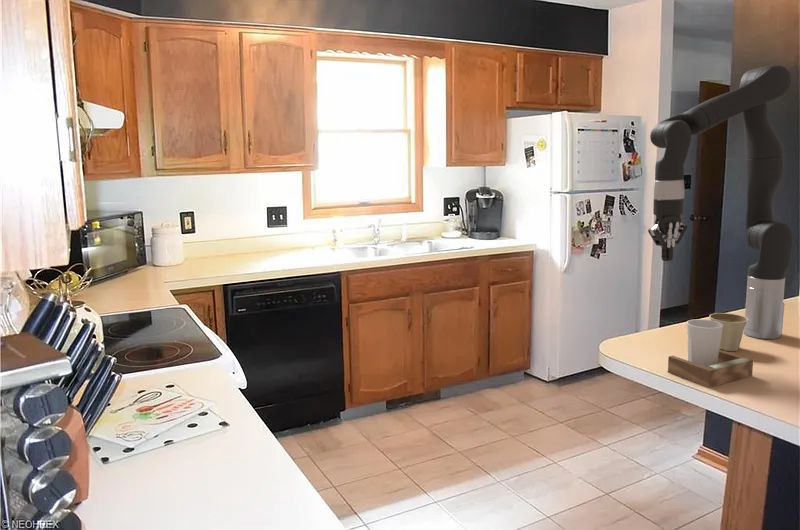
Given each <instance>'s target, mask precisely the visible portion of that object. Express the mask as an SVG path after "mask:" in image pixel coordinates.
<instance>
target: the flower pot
mask: <svg viewBox="0 0 800 530" xmlns="http://www.w3.org/2000/svg"><path fill="white" fill-rule="evenodd" d="M708 318H709V320H712V321H716V322H719V323H721V324H723V329H722V335H721V341H720V347H719V350H723V351H726V352H735V351H738V350H739V349H740V346H741V342H742V337H743V334H744V327H745V326H746V322H748V318H746V317H745V315H744V316H743V315H740V314H736V313H730V312H729V313H727V312H726V313H725V312H716V313H711V314H709V317H708Z"/></svg>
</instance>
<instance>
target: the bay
mask: <svg viewBox="0 0 800 530" xmlns="http://www.w3.org/2000/svg"><path fill="white" fill-rule="evenodd" d="M667 360H668V361H667V373H669V374H672V375H675V376H678V377H680V378H682V379H685V380H688V381H690V382H692V383H696V384H699V385H701V386H703V387H706V388H711V387H715V386H719V385H722V384H723V385H724V384H727V383H731V382H734V381H737V380H742V379H746V378H749V377H752V376H753V367H754V359H752V358H748V357H745V356H742V355H739V354H735V353H732V352H730V351H725V350H723V349H719V354H718V360H717V364H715V365H711V366H709V368H708V367H705V366H702V365H699V364H696V363H693V362H690V361H688V359H684V358H681V357H678V356H676V355H670V356H668V359H667Z"/></svg>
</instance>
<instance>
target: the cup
mask: <svg viewBox="0 0 800 530" xmlns="http://www.w3.org/2000/svg"><path fill="white" fill-rule="evenodd" d="M722 329H723V324H721V323H719V322H716V321H712V320H711V319H701V318H700V319H698V318H696V319H689V320H687V321H686V335H687V338H686V339H687V361H690V362H693V363H696V364H699V365H702V366H705V367H708V368H709V366H711V365H715V364H717V360H718V354H719V350H720V349H719V347H720V341H721V335H722Z"/></svg>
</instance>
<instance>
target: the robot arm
mask: <svg viewBox="0 0 800 530" xmlns="http://www.w3.org/2000/svg"><path fill="white" fill-rule="evenodd" d="M792 80H793V78H792V74H791V72H790V71H789V69H788V68H787V67H785V66H784V65H783V66H782V65H781V64H780V65H779V64H778V65H777V64H773V65H766V66H761V67H757V68H752V69H749V70H747V71H745V73H743V75H742V77H741V78H740V83H739V87H738V88H736V89H734V90H731V91H728V92H726V93H725V92H724V93H723V94H720V95H717V96H714V97H712V98H710V99H707V100H705V101H703V102H702V103H700V104H698V105H695V106H693V107H692V108H690V109H688V110H687V111H685V112H682V113H678V114H676V115H674V116H670V117H669V118H666V119H663V120H662V121H660V122H658V123H656V124H655V125H654V127H652V129H651V131H650V135H649V136H650V137H649V139H650V142H651V144H652V145H654V147H656V148H659V149H665V150H664V154H663V156H662V157H661V158H658V159H657V160H656V162H655V166H654V167H655V168H654V171H655V173H654V186H653V202H652V203H653V205H652V206H653V209H652V211H653V213H652V214H653V215H654V216H655V220H654V225H653V227H652V228H648V229H647V232H648V234H649V235H650V237H651V239H652V240H653V242H654V244H655V246H659V247H661V255H660V256H661V260H662V261H664V262H672V261H673V257H674V247H675V246H676V245H679V244H680V242H681V241H682V239H683V236H684V235H685V233H686V231H687V229H688V225H687V224H684V223H682V218H681V216H682V215H684V212H685V211H684V210H685V181H684V179H685V174H684V173H685V162H686V159H687V157H688V153H689V149H690V146H691V141H692V136H696V135H700V134H701V133H705V132H706V131H709V130H710V129H712V128H714V127H715V126H717V125H719V124H721V123H723V122H725V121H726V120H728V119H730V118H733V117H734V116H736V115H739V114H740V113H741V114H742V119H743V130H744V131H743V132H744V143H745V144H744V145H745V146H744V147H745V158H744V159H745V175H746V176H745V179H746V213H745V223H744V240H745V243H746V245H747V246H748V248H749V249H751V250H753V251H755V252H758V253H759V254H758V261H757V262H756V263H754V264H751V265H749V267H748V270H747V281H746V282H747V283H746V293H745V294H746V295H745V296H746V297H745V307H744V308H745V309H744V317H746V318H748V322H746V326H745V327H744V330H743V334H744V335H746V336H748V337H751V338H756V339H766V340H773V339H779V338H781V336H782V335H783V325H784V317H785V316H784V313H785V302H784V296H785V285H786V274H787V272H788V270H789V268H790V265H791V259H792V251H793V243H794V234H793V230H792V228H791V227H790V226H789V225H788V224H787V223H785V222H781V221H775V220H774V219H773V202H774V198H775V195H776V192H777V190H778V188H779V186H780V185H781V182H782V180H783V177H784V173H785V152H784V151H785V150H784V146H783V144H782V142H781V140H780V138H779V136H778V135H777V133H776V131H775V129H773V128H774V127H772V125H771V122H770V119H769V114H768V113H769V112H768V102H771V101H772V102H773V101H776V100H778V99H781V98H782V97H784V96H785V95H786V94H787V93H788V92H789V90H790V88H791V87H792Z"/></svg>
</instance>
